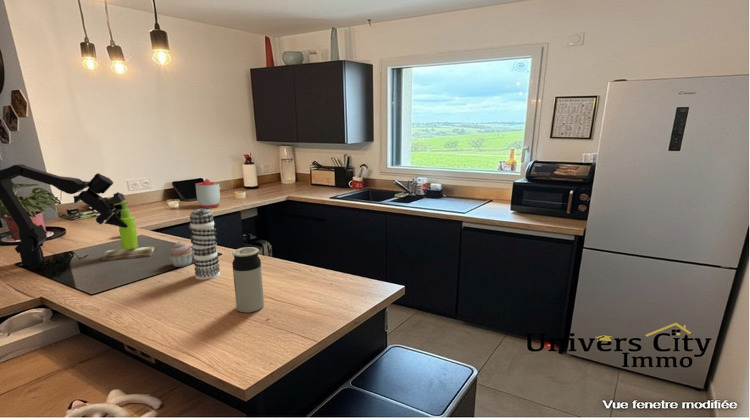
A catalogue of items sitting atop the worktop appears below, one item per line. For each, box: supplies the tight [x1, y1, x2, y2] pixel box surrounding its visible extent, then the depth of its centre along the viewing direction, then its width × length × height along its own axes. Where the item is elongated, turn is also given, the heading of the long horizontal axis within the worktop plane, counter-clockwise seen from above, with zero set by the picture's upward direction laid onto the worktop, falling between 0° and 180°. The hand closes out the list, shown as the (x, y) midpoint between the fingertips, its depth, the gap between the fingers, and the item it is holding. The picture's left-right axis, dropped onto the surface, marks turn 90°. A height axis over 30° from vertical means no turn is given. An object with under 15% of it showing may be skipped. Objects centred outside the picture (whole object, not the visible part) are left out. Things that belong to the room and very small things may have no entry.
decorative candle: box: [188, 208, 221, 281], centre depth 138 cm, size 9×9×25 cm
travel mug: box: [231, 246, 265, 314], centre depth 113 cm, size 8×8×18 cm
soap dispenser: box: [114, 201, 139, 249], centre depth 162 cm, size 6×7×20 cm
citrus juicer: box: [194, 178, 222, 209], centre depth 266 cm, size 16×17×20 cm
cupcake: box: [168, 240, 194, 268], centre depth 151 cm, size 9×9×10 cm
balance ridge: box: [101, 246, 157, 262], centre depth 165 cm, size 18×10×2 cm, turn 107°
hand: (129, 225), depth 163 cm, fingers closed on soap dispenser, 6 cm apart
